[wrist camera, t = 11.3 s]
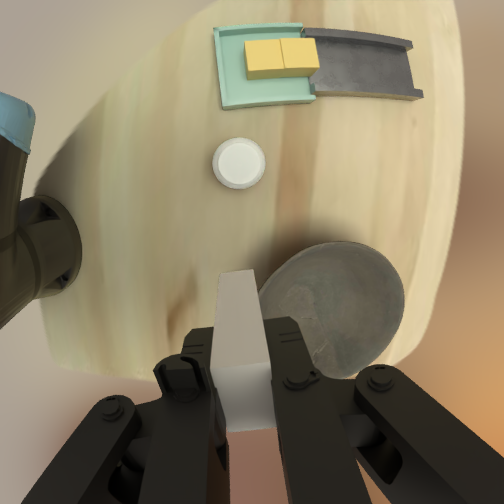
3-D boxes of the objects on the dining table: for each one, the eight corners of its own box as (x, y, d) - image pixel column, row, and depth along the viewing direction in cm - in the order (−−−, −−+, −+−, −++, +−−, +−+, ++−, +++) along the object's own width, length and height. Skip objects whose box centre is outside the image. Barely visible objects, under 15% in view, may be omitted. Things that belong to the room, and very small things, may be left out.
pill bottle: (211, 179, 35) (203, 185, 26) (221, 137, 34) (217, 128, 24) (254, 189, 36) (261, 198, 27) (264, 147, 34) (275, 142, 25)
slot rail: (309, 96, 33) (315, 90, 30) (299, 36, 30) (304, 27, 27) (412, 100, 33) (423, 97, 30) (401, 46, 30) (411, 40, 27)
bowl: (219, 310, 41) (216, 352, 31) (295, 195, 36) (316, 206, 27) (321, 359, 44) (338, 401, 35) (393, 266, 40) (429, 293, 31)
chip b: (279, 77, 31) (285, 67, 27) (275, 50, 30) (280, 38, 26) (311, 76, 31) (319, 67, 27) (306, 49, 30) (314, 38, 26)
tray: (223, 110, 33) (222, 106, 30) (214, 35, 29) (213, 27, 27) (310, 103, 33) (315, 99, 31) (298, 30, 30) (302, 23, 27)
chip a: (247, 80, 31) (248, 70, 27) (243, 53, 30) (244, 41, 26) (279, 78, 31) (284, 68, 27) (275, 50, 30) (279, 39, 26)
